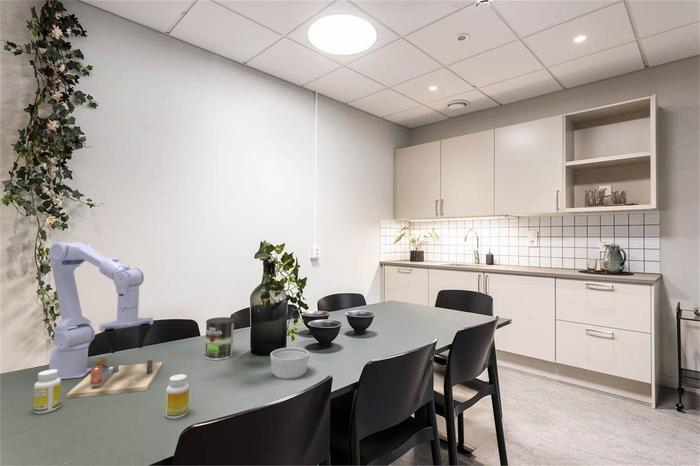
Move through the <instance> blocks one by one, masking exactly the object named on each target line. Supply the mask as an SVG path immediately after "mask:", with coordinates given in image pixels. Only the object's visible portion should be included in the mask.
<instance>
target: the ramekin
mask: <svg viewBox="0 0 700 466" xmlns="http://www.w3.org/2000/svg"><path fill="white" fill-rule="evenodd" d="M269 355H270V357H269V358H270V362H271V363H270V364H271V365H270V366H271V372H272V374H273V375H274V376H275V378H278V379H283V380H293V379H298V378H301V377H303V376H304V375H305V373H306V372H307V370H308V369H307V368H308V362H309V359H310V353H309V350H307V349H304V348H301V347H282V348H278V349H275V350H273V351H272V352H270V354H269Z"/></svg>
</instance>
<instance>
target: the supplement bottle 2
mask: <svg viewBox="0 0 700 466" xmlns="http://www.w3.org/2000/svg"><path fill="white" fill-rule="evenodd" d="M168 383H169V385H168V386H167V387H166V388H165V389H166V390H165V406H164V407H165V410H164V412H165V413H164V414H165V418H167V419H170V420H171V419H173V420H174V419H176V420H177V419H179V418H180V419H181V418H183V417H185V416H186V415H187V414H188V412H189V393H190V386H189V384H188V383H187V375H186V374H183V373H181V374H175V375H172V376H170V377H169V381H168Z"/></svg>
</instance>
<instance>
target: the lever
mask: <svg viewBox="0 0 700 466" xmlns="http://www.w3.org/2000/svg"><path fill="white" fill-rule="evenodd" d="M119 366H120V365H119V364H116V363H115V364H114V363H113V364H110V365H108V366H105V367H104V371H103V372H102V366H96V365H95V366H92V367H90V368H91V370H90V373H91V377H90V384H91V387H97V386H101V385H102V384H103V383H104V382H105V381H106V380H107V379H108V378H109V377H110V376H111V375H112V374H113V373H114V372H117V371H118V370H119Z"/></svg>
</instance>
